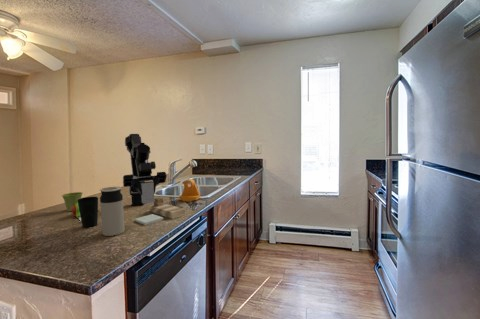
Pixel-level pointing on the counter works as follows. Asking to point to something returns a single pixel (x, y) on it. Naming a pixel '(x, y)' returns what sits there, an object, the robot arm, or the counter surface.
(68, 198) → the plant pot
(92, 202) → the cup
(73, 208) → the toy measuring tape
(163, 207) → the body
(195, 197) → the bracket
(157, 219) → the sage mat
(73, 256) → the counter surface
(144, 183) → the lever cap
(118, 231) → the travel mug
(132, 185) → the robot arm
